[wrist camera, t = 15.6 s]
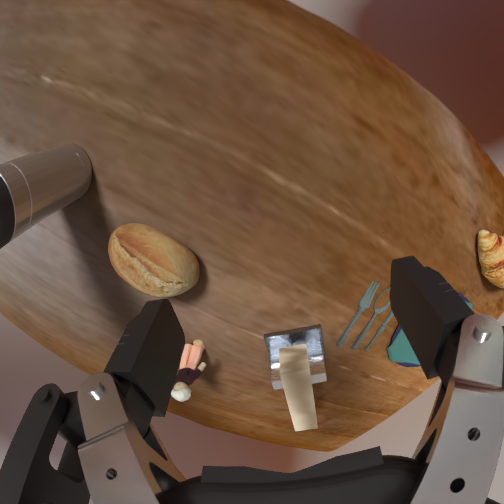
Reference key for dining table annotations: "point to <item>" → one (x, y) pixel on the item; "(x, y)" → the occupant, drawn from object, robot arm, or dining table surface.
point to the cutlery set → (399, 345)
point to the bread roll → (152, 260)
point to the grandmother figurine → (188, 370)
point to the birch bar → (298, 386)
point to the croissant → (491, 257)
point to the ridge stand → (293, 338)
